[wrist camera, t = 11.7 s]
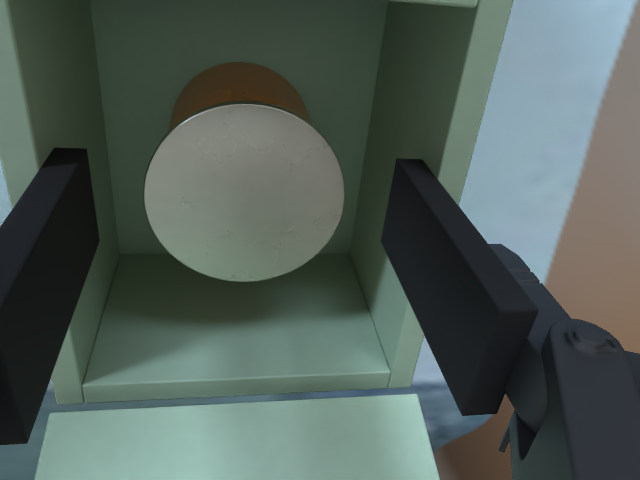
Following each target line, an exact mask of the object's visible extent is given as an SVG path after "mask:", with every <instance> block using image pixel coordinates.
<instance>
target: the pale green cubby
mask: <svg viewBox="0 0 640 480" xmlns="http://www.w3.org/2000/svg"><path fill="white" fill-rule="evenodd" d="M512 4H513V0H0V160H1V164H2V168H3V173H4V177H5V181H6V186H7V190H8V194H9V199H10V203H11V207H12V209H13V208H14V206H15V205H16V203H17V202H18V200H19V199H20V197H21V196H22V194H23V193H24V191H25V190H26V188H27V187H28V186H29V184H30V183H31V181H32V180H33V178H34V177H35V175H36V174H37V172H38V171H39V169H40V168H41V166H42V165H43V163H44V162H45V160H46V159H47V157H48V156H49V154H50V153H51V151H52V150H53V149H54V147H56V148H87V153H88V160H89V167H90V174H91V182H92V189H93V196H94V203H95V210H96V218H97V225H98V232H99V239H100V242H99V244H98V247H97V250H96V253H95V255H94V258H93V261H92V264H91V267H90V269H89V272H88V275H87V278H86V281H85V283H84V286H83V289H82V292H81V295H80V297H79V300H78V303H77V306H76V309H75V311H74V314H73V317H72V320H71V323H70V325H69V328H68V331H67V334H66V337H65V339H64V342H63V345H62V348H61V351H60V353H59V356H58V359H57V362H56V364H55V367H54V370H53V373H52V376H51V380H52V384H53V389H54V393H55V397H56V402H57V404H78V403H84V402H86V403H100V402H120V401H140V400H161V399H181V398H201V397H221V396H242V395H262V394H282V393H303V392H323V391H343V390H363V389H384V388H387V387H388V388H407V387H410V386H411V382H412V378H413V374H414V371H415V367H416V363H417V359H418V356H419V352H420V348H421V344H422V341H423V337H424V333H423V331H422V329H421V327H420V325H419V322H418V320H417V318H416V316H415V314H414V312H413V310H412V307H411V305H410V303H409V301H408V299H407V297H406V295H405V292H404V290H403V288H402V286H401V284H400V282H399V280H398V277H397V275H396V273H395V271H394V269H393V267H392V265H391V263H390V260H389V258H388V256H387V254H386V252H385V250H384V248H383V245H382V243H381V237H382V231H383V226H384V221H385V216H386V210H387V205H388V200H389V194H390V189H391V184H392V179H393V173H394V168H395V163H396V158H399V159H422V160H423V161H424V162H425V163H426V165H427V166H428V167H429V169H430V170H431V171H432V173H433V174H434V175H435V176H436V178H437V179H438V180H439V182H440V183H441V184H442V185H443V187H444V188H445V189H446V191H447V192H448V193H449V194H450V196H451V197H452V198H453V200H454V201H455V202H456V203H457V205H458V206H459V202H460V198H461V195H462V191H463V187H464V183H465V180H466V176H467V172H468V168H469V165H470V161H471V157H472V154H473V150H474V146H475V142H476V139H477V135H478V131H479V127H480V124H481V120H482V116H483V112H484V109H485V105H486V101H487V97H488V94H489V90H490V86H491V82H492V79H493V75H494V71H495V67H496V64H497V60H498V56H499V53H500V49H501V45H502V41H503V38H504V34H505V30H506V26H507V23H508V19H509V15H510V11H511V8H512ZM231 62H247V63H254V64H257V65H261V66H264V67H266V68H269V69H271V70H273V71H275V72H276V73H278V74H280V75H281V76H282V77H284V78H285V79H286V80H287V81H288V82H289V83H290V84H291V85H292V86H293V87H294V88H295V89H296V91H297V92H298V93H299V95H300V97H301V99H302V100H303V102H304V105H305V107H306V110H307V112H308V115H309V117H310V120H311V122H312V124H313V125H314V126H315V127H316V128H317V129H318V130H319V131H320V132H321V133H322V134H323V135H324V136H325V138H326V139H327V140H328V142H329V143H330V144H331V146H332V148H333V150H334V152H335V153H336V155H337V157H338V160H339V163H340V165H341V168H342V172H343V176H344V181H345V203H344V208H343V212H342V216H341V218H340V221H339V224H338V226H337V228H336V230H335V232H334V234H333V235H332V237H331V238H330V240H329V241H328V242H327V244H326V245H325V246H324V247H323V248H322V249H321V250H320V252H319V253H317V254H316V255H315V256H314V257H313V258H312V259H311V260H309V261H308V262H306V263H305V264H303V265H302V266H300V267H298V268H296V269H295V270H293V271H291V272H288V273H286V274H283V275H281V276H278V277H274V278H270V279H266V280H260V281H249V282H238V281H228V280H221V279H217V278H213V277H209V276H207V275H204V274H202V273H199V272H197V271H195V270H193V269H191V268H189V267H187V266H186V265H184V264H183V263H181V262H180V261H178V260H177V259H176V258H175V257H174V256H173V255H171V254H170V253H169V252H168V251H167V250H166V249H165V247H164V246H163V245H162V244H161V243H160V241H159V240H158V238H157V237H156V235H155V234H154V232H153V230H152V228H151V226H150V224H149V221H148V218H147V215H146V212H145V206H144V200H143V186H144V179H145V174H146V170H147V167H148V164H149V161H150V158H151V156H152V154H153V152H154V150H155V148H156V147H157V145H158V144H159V142H160V141H161V139H162V138H163V137H164V136H165V135H166V134H167V133H168V129H169V125H170V121H171V117H172V113H173V109H174V106H175V103H176V101H177V99H178V97H179V95H180V93H181V92H182V90H183V89H184V87H185V86H186V85H187V84H188V83H189V82H190V81H191V80H192V79H193V78H195V77H196V76H197V75H198V74H200V73H202V72H203V71H205V70H207V69H209V68H211V67H214V66H217V65H220V64H224V63H231Z"/></svg>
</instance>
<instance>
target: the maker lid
mask: <svg viewBox="0 0 640 480" xmlns="http://www.w3.org/2000/svg"><path fill="white" fill-rule="evenodd" d="M34 480H440V479H439V475H438V472H437V468H436V464H435V460H434V456H433V452H432V448H431V445H430V441H429V437H428V433H427V430H426V426H425V422H424V418H423V414H422V411H421V407H420V403H419V399H418V395H417V394H403V395H383V396H364V397H345V398H326V399H306V400H287V401H268V402H248V403H229V404H210V405H190V406H171V407H152V408H133V409H113V410H94V411H75V412H55V413H50V415H49V419H48V423H47V427H46V431H45V436H44V440H43V444H42V449H41V453H40V457H39V462H38V466H37V470H36V475H35V479H34Z"/></svg>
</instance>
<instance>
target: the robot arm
mask: <svg viewBox="0 0 640 480" xmlns="http://www.w3.org/2000/svg"><path fill="white" fill-rule="evenodd" d="M99 242H100V239H99V232H98V225H97V218H96V210H95V203H94V196H93V189H92V182H91V174H90V167H89V160H88V153H87V148H56V147H54V149H53V150H52V151H51V153H50V154H49V156H48V157H47V159H46V160H45V162H44V163H43V165H42V166H41V168H40V169H39V171H38V172H37V174H36V175H35V177H34V178H33V180H32V181H31V183H30V184H29V186H28V187H27V188H26V190H25V191H24V193H23V194H22V196H21V197H20V199H19V200H18V202H17V203H16V205H15V206H14V208H13V209H12V211H11V212H10V214H9V215H8V217H7V218H6V220H5V221H4V222H3V224H2V225H1V227H0V445H9V444H25V443H28V440H29V437H30V434H31V432H32V429H33V426H34V423H35V420H36V418H37V415H38V412H39V409H40V406H41V404H42V401H43V398H44V395H45V392H46V390H47V387H48V384H49V381H50V378H51V376H52V373H53V370H54V367H55V364H56V362H57V359H58V356H59V353H60V351H61V348H62V345H63V342H64V339H65V337H66V334H67V331H68V328H69V325H70V323H71V320H72V317H73V314H74V311H75V309H76V306H77V303H78V300H79V297H80V295H81V292H82V289H83V286H84V283H85V281H86V278H87V275H88V272H89V269H90V267H91V264H92V261H93V258H94V255H95V253H96V250H97V247H98V244H99ZM381 243H382V245H383V248H384V250H385V252H386V254H387V256H388V258H389V260H390V263H391V265H392V267H393V269H394V271H395V273H396V275H397V277H398V280H399V282H400V284H401V286H402V288H403V290H404V292H405V295H406V297H407V299H408V301H409V303H410V305H411V307H412V310H413V312H414V314H415V316H416V318H417V320H418V322H419V325H420V327H421V329H422V331H423V333H424V335H425V337H426V340H427V342H428V344H429V346H430V348H431V350H432V352H433V355H434V357H435V359H436V361H437V363H438V365H439V367H440V369H441V372H442V374H443V376H444V378H445V380H446V382H447V384H448V387H449V389H450V391H451V393H452V395H453V397H454V399H455V402H456V404H457V406H458V408H459V410H460V412H461V414H462V416H468V415H484V414H497V412H498V409H499V407H500V404H501V402H502V400H503V397H504V395H505V393H506V395H507V396H508V398H509V400H510V402H511V403H512V405H513V407H514V408H515V410H514V413H513V415H512V417H511V419H510V422H509V424H508V426H507V429H506V431H505V433H504V436H503V438H502V440H501V443H500V447H499V451H501V452H505V449H506V447H507V445H508V443H509V442H510V447H511V466H512V480H640V354H638V353H633V352H628V351H624V349H623V348H622V346H621V344H620V343H619V341H618V340H617V339H616V338H614V337H613V336H612V335H611V334H610V333H609V332H607V331H606V330H603V329H602V328H600V327H598V326H597V325H594V324H592V323H589V322H586V321H583V320H578V319H571V318H570V317H569V316H568V314H567V313H566V312H565V311H564V309H562V307H561V306H560V305H559V303H558V302H557V301H556V300H555V299H554V298H553V296H552V295H551V294H550V293H549V291H548V290H547V289H546V288H545V287H544V286H543V284H542V283H541V284H540V283H539V280H538V278H537V277H536V276H535V275H534V274H533V272H530V269H529V268H528V266H527V265H526V264H525V263H524V262H523V260H522V259H521V258H520V257H519V256H518V255H517V254H515V253H514V252H512V251H511V250H509V249H508V248H506V247H505V246H503V245H502V244H488V243H487V242H486V241H485V240H484V238H483V237H482V236H481V234H480V233H479V232H478V231H477V229H476V228H475V227H474V225H473V224H472V223H471V222H470V220H469V219H468V218H467V216H466V215H465V214H464V212H463V211H462V210H461V209H460V207H459V206H458V205H457V203H456V202H455V201H454V200H453V198H452V197H451V196H450V194H449V193H448V192H447V191H446V189H445V188H444V187H443V185H442V184H441V183H440V182H439V180H438V179H437V178H436V176H435V175H434V174H433V173H432V171H431V170H430V169H429V167H428V166H427V165H426V163H425V162H424V161H423V160H422V159H399V158H396V163H395V168H394V173H393V179H392V184H391V189H390V194H389V200H388V205H387V210H386V216H385V221H384V226H383V231H382V237H381Z"/></svg>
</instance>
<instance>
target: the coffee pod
mask: <svg viewBox="0 0 640 480" xmlns="http://www.w3.org/2000/svg"><path fill="white" fill-rule="evenodd" d="M143 200H144V206H145V212H146V215H147V218H148V221H149V224H150V226H151V228H152V230H153V232H154V234H155V235H156V237H157V238H158V240H159V241H160V243H161V244H162V245H163V246H164V247H165V249H166V250H167V251H168V252H169V253H170V254H171V255H173V256H174V257H175V258H176V259H177V260H178V261H180V262H181V263H183V264H184V265H186V266H187V267H189V268H191V269H193V270H195V271H197V272H199V273H202V274H204V275H207V276H209V277H213V278H217V279H221V280H228V281H238V282H249V281H260V280H266V279H270V278H274V277H278V276H281V275H283V274H286V273H288V272H291V271H293V270H295V269H296V268H298V267H300V266H302V265H303V264H305V263H306V262H308V261H309V260H311V259H312V258H313V257H314V256H315V255H316V254H317V253H319V252H320V250H321V249H322V248H323V247H324V246H325V245H326V244H327V242H328V241H329V240H330V238H331V237H332V235H333V234H334V232H335V230H336V228H337V226H338V224H339V221H340V218H341V216H342V212H343V208H344V203H345V181H344V176H343V172H342V168H341V165H340V163H339V160H338V157H337V155H336V153H335V152H334V150H333V148H332V146H331V144H330V143H329V142H328V140H327V139H326V138H325V136H324V135H323V134H322V133H321V132H320V131H319V130H318V129H317V128H316V127H315V126H314V125H313V124H312V122H311V120H310V117H309V115H308V112H307V110H306V107H305V105H304V102H303V100H302V99H301V97H300V95H299V93H298V92H297V91H296V89H295V88H294V87H293V86H292V85H291V84H290V83H289V82H288V81H287V80H286V79H285V78H284V77H282V76H281V75H280V74H278V73H276V72H275V71H273V70H271V69H269V68H266V67H264V66H261V65H257V64H254V63H247V62H231V63H224V64H220V65H217V66H214V67H211V68H209V69H207V70H205V71H203V72H202V73H200V74H198V75H197V76H196V77H195V78H193V79H192V80H191V81H190V82H189V83H188V84H187V85H186V86H185V87H184V89H183V90H182V92H181V93H180V95H179V97H178V99H177V101H176V103H175V106H174V109H173V113H172V117H171V121H170V125H169V129H168V133H167V134H166V135H165V136H164V137H163V138H162V139H161V141H160V142H159V144H158V145H157V147H156V148H155V150H154V152H153V154H152V156H151V158H150V161H149V164H148V167H147V170H146V174H145V179H144V186H143Z"/></svg>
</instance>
